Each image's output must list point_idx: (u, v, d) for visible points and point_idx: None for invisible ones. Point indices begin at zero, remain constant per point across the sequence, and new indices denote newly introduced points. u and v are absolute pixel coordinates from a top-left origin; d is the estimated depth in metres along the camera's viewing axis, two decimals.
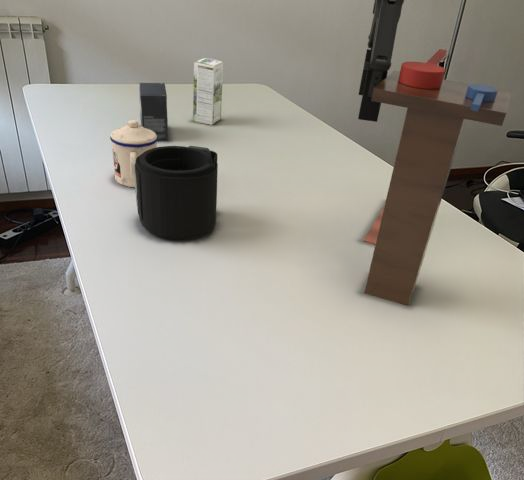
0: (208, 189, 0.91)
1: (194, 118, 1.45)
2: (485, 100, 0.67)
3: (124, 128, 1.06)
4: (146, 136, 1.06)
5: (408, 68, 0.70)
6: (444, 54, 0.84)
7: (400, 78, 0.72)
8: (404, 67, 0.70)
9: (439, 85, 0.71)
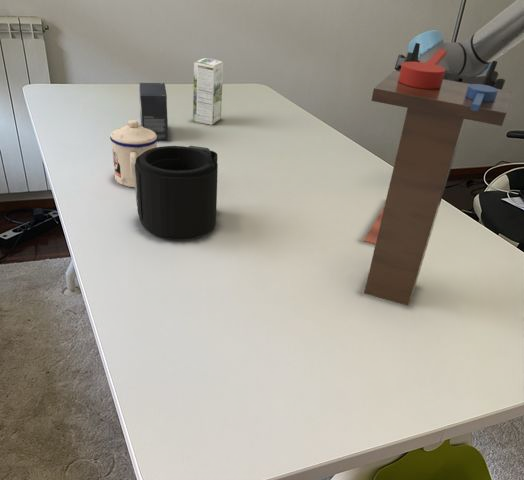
0: (208, 189, 0.91)
1: (194, 118, 1.45)
2: (485, 100, 0.67)
3: (124, 128, 1.06)
4: (146, 136, 1.06)
5: (408, 68, 0.70)
6: (444, 54, 0.84)
7: (400, 78, 0.72)
8: (404, 67, 0.70)
9: (439, 85, 0.71)
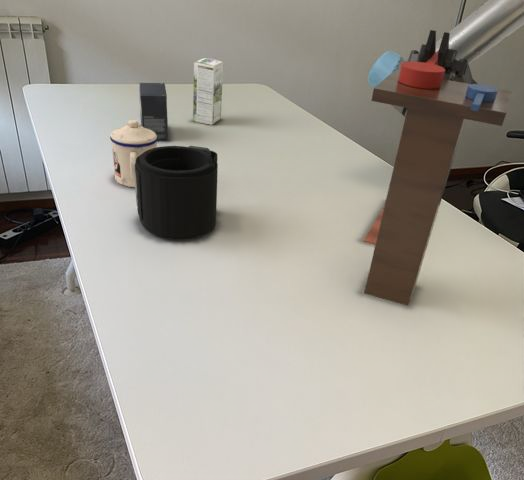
0: (208, 189, 0.91)
1: (194, 118, 1.45)
2: (485, 100, 0.67)
3: (124, 128, 1.06)
4: (146, 136, 1.06)
5: (408, 68, 0.70)
6: None
7: (400, 78, 0.72)
8: (404, 67, 0.70)
9: (439, 85, 0.71)
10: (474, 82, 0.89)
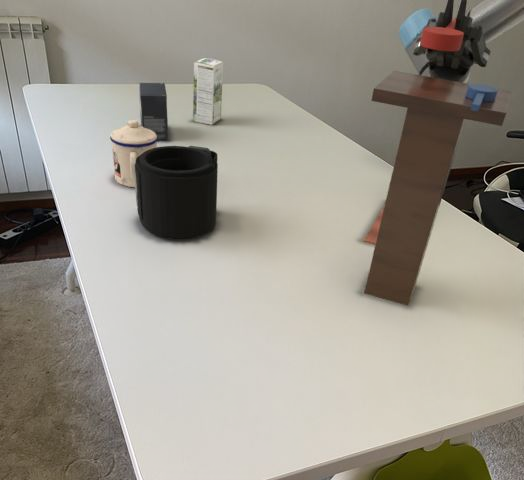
0: (208, 189, 0.91)
1: (194, 118, 1.45)
2: (485, 100, 0.67)
3: (124, 128, 1.06)
4: (146, 136, 1.06)
5: (429, 32, 0.75)
6: None
7: (422, 42, 0.77)
8: (426, 31, 0.76)
9: (458, 48, 0.76)
10: (487, 50, 0.94)
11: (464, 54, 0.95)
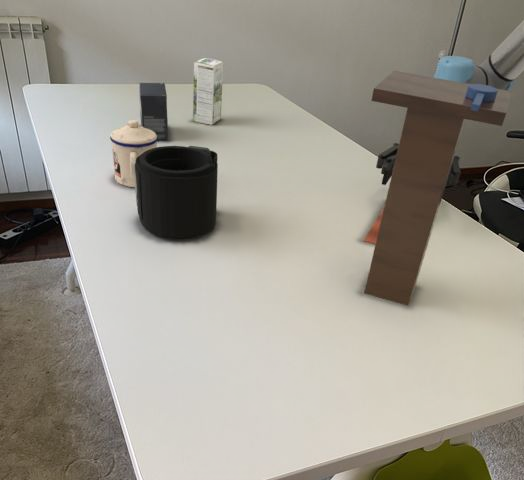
0: (208, 189, 0.91)
1: (194, 118, 1.45)
2: (485, 100, 0.67)
3: (124, 128, 1.06)
4: (146, 136, 1.06)
5: None
6: None
7: None
8: None
9: None
10: (458, 160, 1.09)
11: None
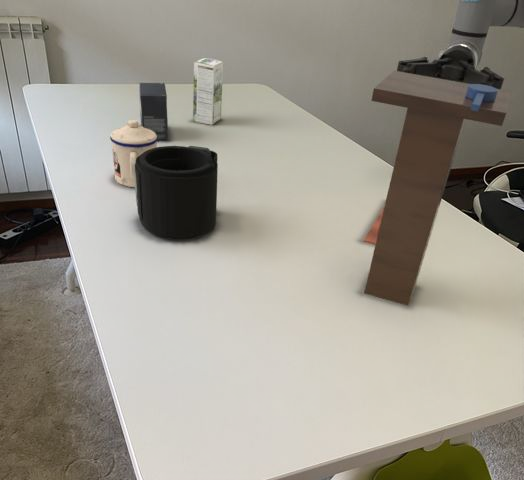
0: (208, 189, 0.91)
1: (194, 118, 1.45)
2: (485, 100, 0.67)
3: (124, 128, 1.06)
4: (146, 136, 1.06)
5: None
6: None
7: None
8: None
9: None
10: None
11: (462, 76, 1.10)
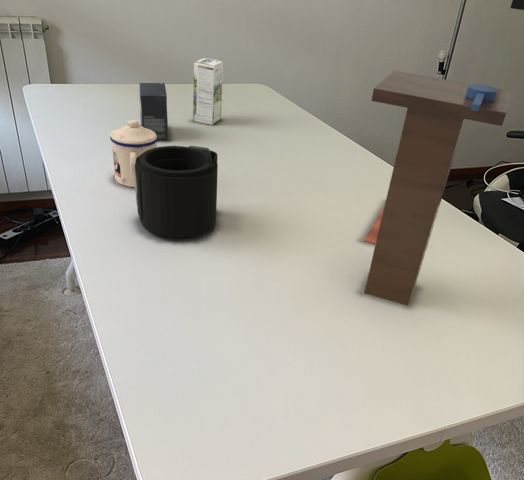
0: (208, 189, 0.91)
1: (194, 118, 1.45)
2: (485, 100, 0.67)
3: (124, 128, 1.06)
4: (146, 136, 1.06)
5: None
6: None
7: None
8: None
9: None
10: None
11: None
